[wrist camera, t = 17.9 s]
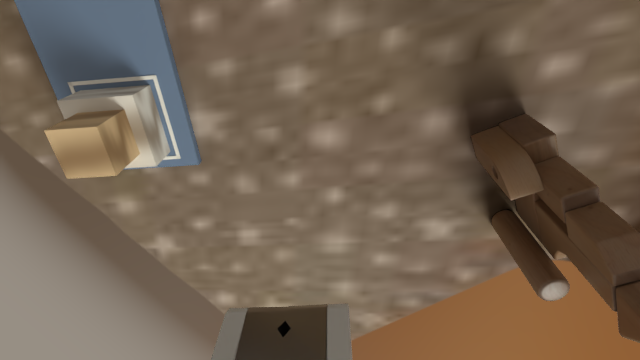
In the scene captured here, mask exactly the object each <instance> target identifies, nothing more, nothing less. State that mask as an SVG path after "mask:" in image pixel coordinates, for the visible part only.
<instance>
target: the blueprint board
mask: <svg viewBox="0 0 640 360" xmlns="http://www.w3.org/2000/svg"><path fill="white" fill-rule="evenodd" d="M14 1H15V3H16V6H17V8H18V10H19V13H20V15H21V17H22V19H23V22H24V24H25V26H26V28H27V31H28V33H29V35H30V38H31V40H32V42H33V44H34V47H35V49H36V51H37V53H38V56H39V58H40V60H41V63H42V65H43V67H44V69H45V72H46V74H47V76H48V78H49V81H50V83H51V85H52V88H53V90H54V92H55V94H56V97H57V99H58V100H60V99H62V98H65V97H67V96H69V95H71V94H74V93H76V92H78V91H80V90H93V89H105V88H118V87H130V86H143V85H150V87H151V90H152V93H153V96H154V99H155V103H156V106H157V109H158V112H159V116H160V119H161V122H162V125H163V129H164V132H165V135H166V138H167V142H168V145H169V148H170V152H169V154H168V155H167V156H166V157H165V158H164V159H163V160H162V161H161V162H160V163H159V164H158V165H157V166H155V167H171V166H186V165H199V164H200V162H201V158H200V154H199V150H198V146H197V143H196V139H195V135H194V131H193V128H192V124H191V120H190V116H189V113H188V109H187V105H186V102H185V98H184V94H183V90H182V87H181V83H180V79H179V75H178V72H177V68H176V64H175V60H174V57H173V53H172V49H171V46H170V42H169V38H168V34H167V31H166V27H165V23H164V19H163V16H162V12H161V8H160V4H159V1H158V0H14ZM155 167H140V168H155ZM140 168H124V169H123V170H125V169H140Z"/></svg>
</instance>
